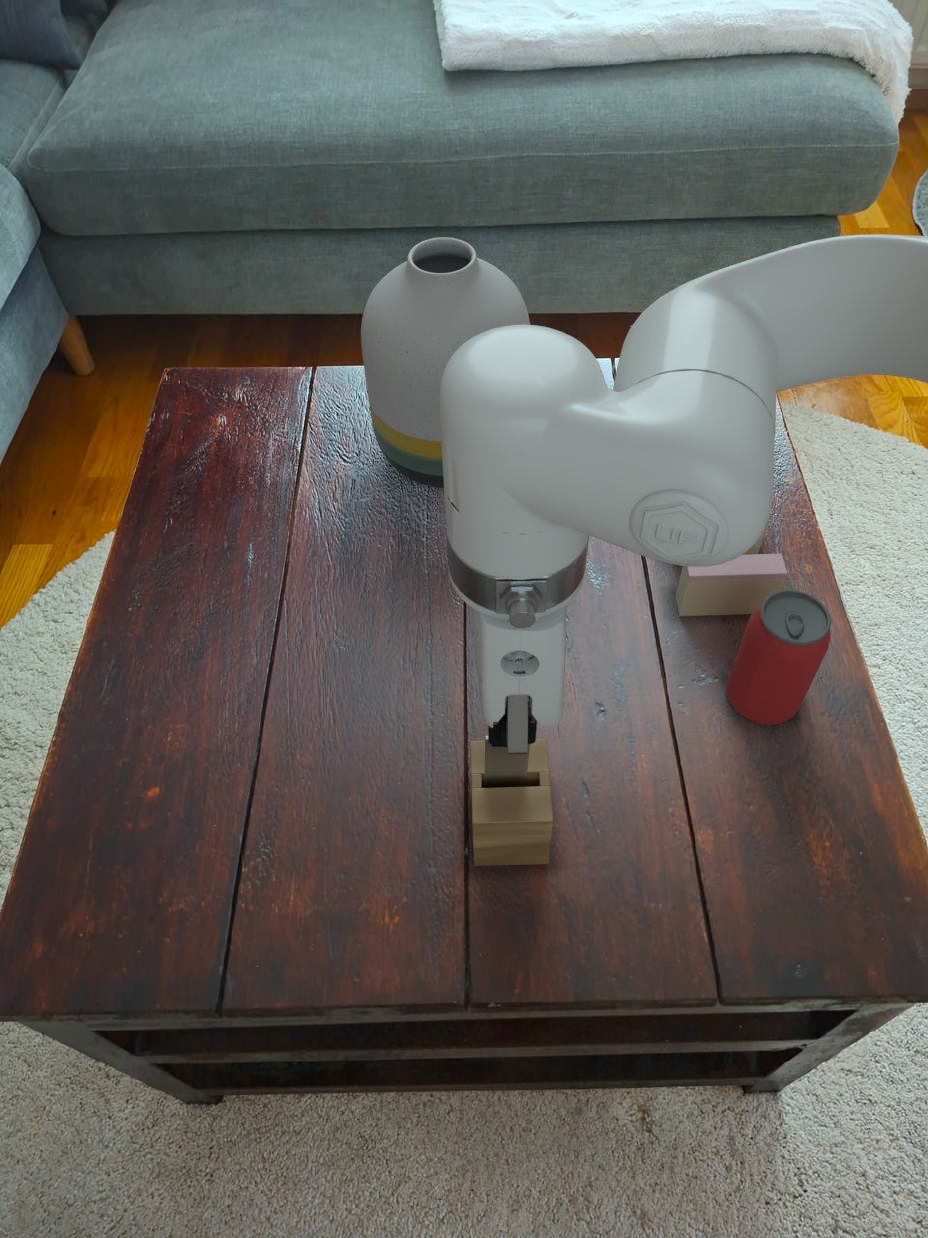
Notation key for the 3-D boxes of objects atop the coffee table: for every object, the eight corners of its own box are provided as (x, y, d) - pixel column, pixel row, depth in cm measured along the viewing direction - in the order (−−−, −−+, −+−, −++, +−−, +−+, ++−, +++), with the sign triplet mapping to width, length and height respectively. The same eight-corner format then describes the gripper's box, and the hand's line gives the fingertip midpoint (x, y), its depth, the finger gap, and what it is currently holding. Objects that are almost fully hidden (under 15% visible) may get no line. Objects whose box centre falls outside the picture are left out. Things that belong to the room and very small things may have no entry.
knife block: (548, 864, 75) (553, 821, 69) (474, 866, 76) (472, 823, 69) (542, 786, 80) (546, 738, 73) (472, 788, 80) (470, 740, 73)
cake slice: (772, 614, 90) (788, 573, 86) (678, 616, 90) (689, 576, 86) (766, 593, 92) (781, 553, 87) (675, 596, 92) (684, 555, 87)
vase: (376, 406, 110) (351, 211, 91) (519, 398, 111) (524, 202, 92) (376, 509, 100) (348, 314, 81) (534, 500, 100) (543, 303, 81)
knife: (524, 810, 74) (536, 700, 61) (484, 810, 74) (487, 701, 61) (523, 791, 75) (534, 680, 62) (483, 792, 75) (486, 681, 62)
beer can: (722, 720, 83) (751, 640, 74) (727, 661, 87) (756, 577, 78) (798, 734, 82) (838, 655, 73) (800, 674, 86) (838, 591, 76)
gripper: (602, 668, 46) (575, 830, 60) (573, 448, 55) (556, 633, 70) (448, 672, 46) (458, 833, 60) (446, 451, 55) (455, 636, 70)
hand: (511, 725), depth 65 cm, fingers closed on knife, 1 cm apart
